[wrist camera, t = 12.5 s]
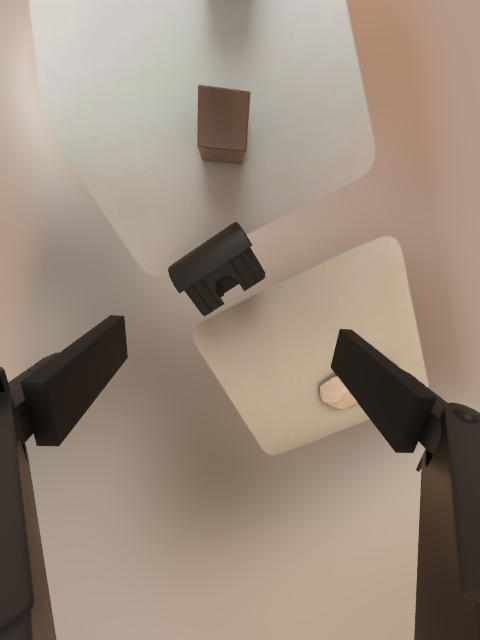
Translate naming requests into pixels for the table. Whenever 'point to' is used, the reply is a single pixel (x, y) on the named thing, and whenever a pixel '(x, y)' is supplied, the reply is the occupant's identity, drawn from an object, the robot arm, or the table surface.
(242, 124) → the walnut block middle
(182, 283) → the end cap
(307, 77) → the table surface
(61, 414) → the robot arm
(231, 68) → the table surface
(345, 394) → the stone
